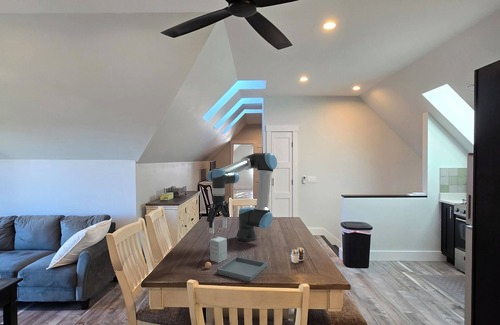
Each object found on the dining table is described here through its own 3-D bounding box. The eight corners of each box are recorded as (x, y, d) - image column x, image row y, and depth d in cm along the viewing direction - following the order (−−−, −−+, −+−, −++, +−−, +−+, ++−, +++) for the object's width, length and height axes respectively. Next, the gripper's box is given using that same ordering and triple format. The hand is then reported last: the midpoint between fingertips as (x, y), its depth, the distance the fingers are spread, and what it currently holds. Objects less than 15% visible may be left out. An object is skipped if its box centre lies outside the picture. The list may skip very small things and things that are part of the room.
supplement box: (218, 256, 164) (218, 236, 164) (227, 259, 159) (227, 238, 159) (209, 260, 158) (209, 239, 158) (218, 263, 153) (218, 241, 153)
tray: (236, 260, 157) (236, 256, 157) (267, 267, 148) (267, 262, 148) (216, 273, 140) (216, 268, 140) (250, 282, 130) (250, 277, 130)
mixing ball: (207, 266, 149) (207, 260, 148) (212, 267, 147) (212, 261, 147) (203, 268, 145) (203, 262, 145) (208, 270, 144) (208, 263, 144)
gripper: (224, 192, 170) (224, 224, 171) (200, 197, 148) (200, 234, 149) (234, 192, 167) (234, 226, 167) (211, 198, 145) (211, 236, 145)
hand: (218, 230), depth 158 cm, fingers open, 13 cm apart
